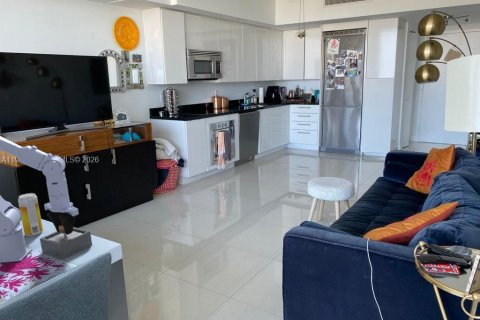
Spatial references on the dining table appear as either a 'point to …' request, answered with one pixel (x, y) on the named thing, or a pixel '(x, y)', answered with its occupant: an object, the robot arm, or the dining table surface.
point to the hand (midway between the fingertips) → (64, 232)
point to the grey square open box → (66, 244)
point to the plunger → (63, 235)
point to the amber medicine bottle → (30, 214)
